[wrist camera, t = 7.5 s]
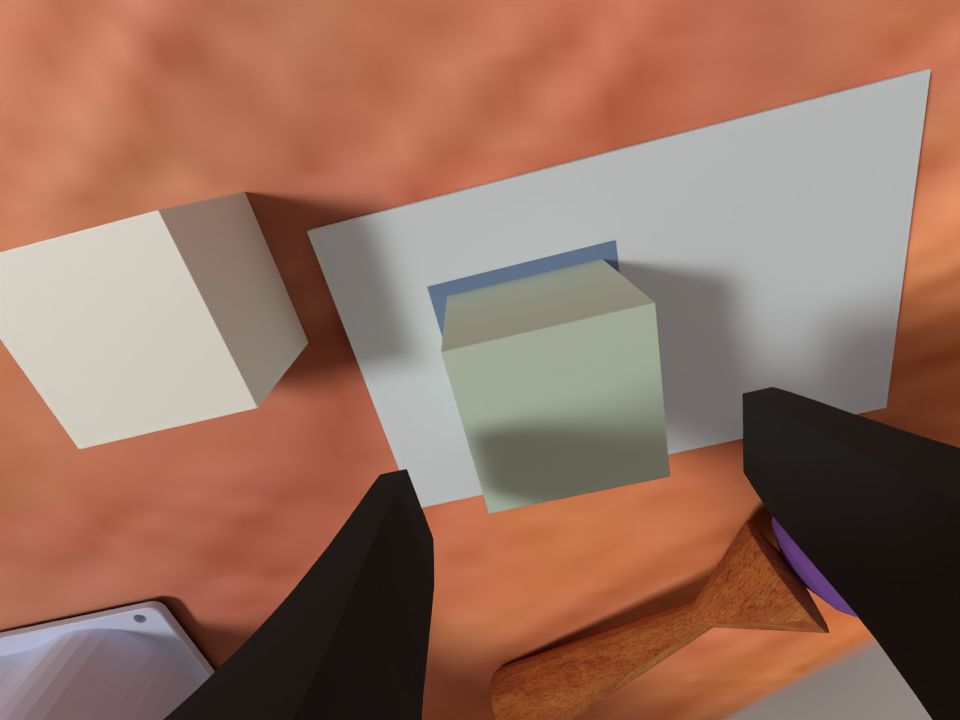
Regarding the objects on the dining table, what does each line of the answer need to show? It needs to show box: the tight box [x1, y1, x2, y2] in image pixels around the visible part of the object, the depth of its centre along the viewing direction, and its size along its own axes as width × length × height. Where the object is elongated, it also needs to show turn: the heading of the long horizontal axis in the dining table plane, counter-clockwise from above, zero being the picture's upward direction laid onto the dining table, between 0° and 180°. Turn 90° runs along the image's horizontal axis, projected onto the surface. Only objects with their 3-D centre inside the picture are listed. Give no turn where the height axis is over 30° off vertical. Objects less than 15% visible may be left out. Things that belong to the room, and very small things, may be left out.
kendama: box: [490, 517, 859, 720], centre depth 19 cm, size 6×6×20 cm
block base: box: [441, 259, 670, 513], centre depth 14 cm, size 5×5×4 cm
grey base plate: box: [307, 69, 931, 507], centre depth 16 cm, size 18×11×1 cm, turn 104°
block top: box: [0, 192, 309, 449], centre depth 13 cm, size 5×5×4 cm
